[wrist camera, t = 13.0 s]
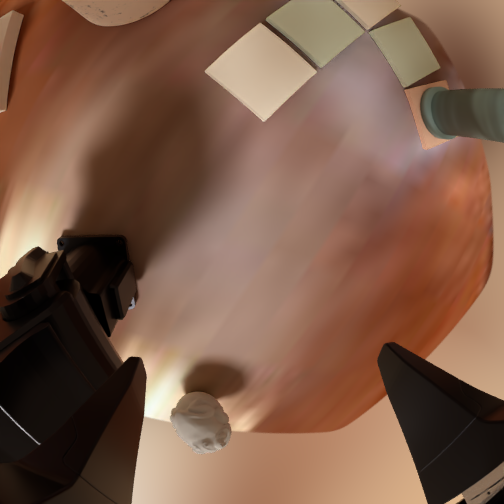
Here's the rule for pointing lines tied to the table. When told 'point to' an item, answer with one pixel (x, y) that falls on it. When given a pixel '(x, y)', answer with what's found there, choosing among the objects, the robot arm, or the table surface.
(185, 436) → the frog figurine
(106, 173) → the table surface
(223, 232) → the table surface
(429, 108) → the pawn
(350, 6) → the track
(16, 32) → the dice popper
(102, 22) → the teacup with lid
